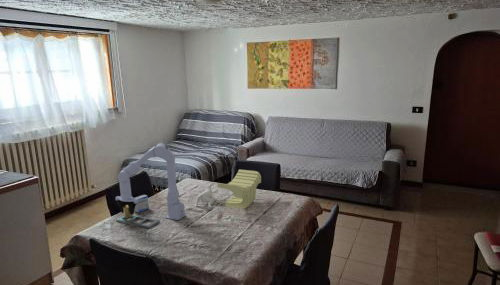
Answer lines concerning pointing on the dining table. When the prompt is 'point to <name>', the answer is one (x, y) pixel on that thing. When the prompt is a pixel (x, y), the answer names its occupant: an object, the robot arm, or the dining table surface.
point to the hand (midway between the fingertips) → (127, 213)
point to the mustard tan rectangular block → (126, 211)
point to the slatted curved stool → (242, 188)
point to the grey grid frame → (140, 224)
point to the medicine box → (141, 203)
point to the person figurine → (207, 196)
